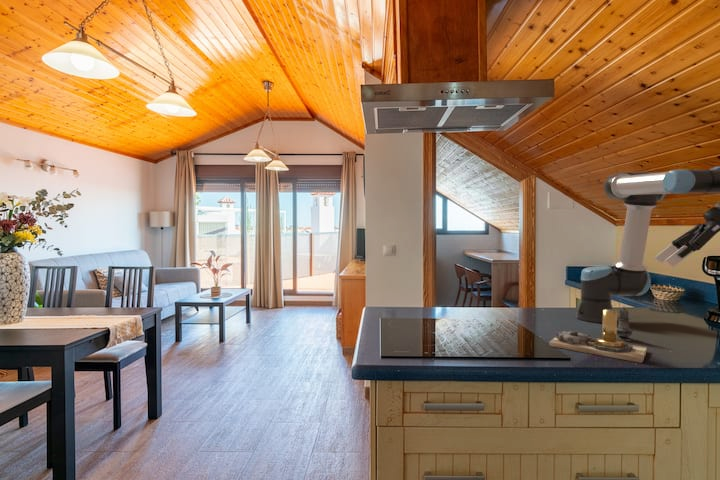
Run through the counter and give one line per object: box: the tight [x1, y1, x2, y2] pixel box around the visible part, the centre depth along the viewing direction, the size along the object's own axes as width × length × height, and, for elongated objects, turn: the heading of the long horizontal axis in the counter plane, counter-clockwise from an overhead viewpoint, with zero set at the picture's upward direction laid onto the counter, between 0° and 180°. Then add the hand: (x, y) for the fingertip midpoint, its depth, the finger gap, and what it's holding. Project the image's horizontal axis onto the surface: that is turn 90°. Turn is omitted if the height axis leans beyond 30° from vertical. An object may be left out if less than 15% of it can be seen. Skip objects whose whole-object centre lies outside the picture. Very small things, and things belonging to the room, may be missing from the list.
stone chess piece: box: [617, 306, 634, 342], centre depth 143 cm, size 6×6×12 cm
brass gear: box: [593, 309, 626, 348], centre depth 129 cm, size 9×9×12 cm
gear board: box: [548, 330, 648, 364], centre depth 131 cm, size 14×26×4 cm, turn 49°
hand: (663, 261), depth 126 cm, fingers open, 13 cm apart
